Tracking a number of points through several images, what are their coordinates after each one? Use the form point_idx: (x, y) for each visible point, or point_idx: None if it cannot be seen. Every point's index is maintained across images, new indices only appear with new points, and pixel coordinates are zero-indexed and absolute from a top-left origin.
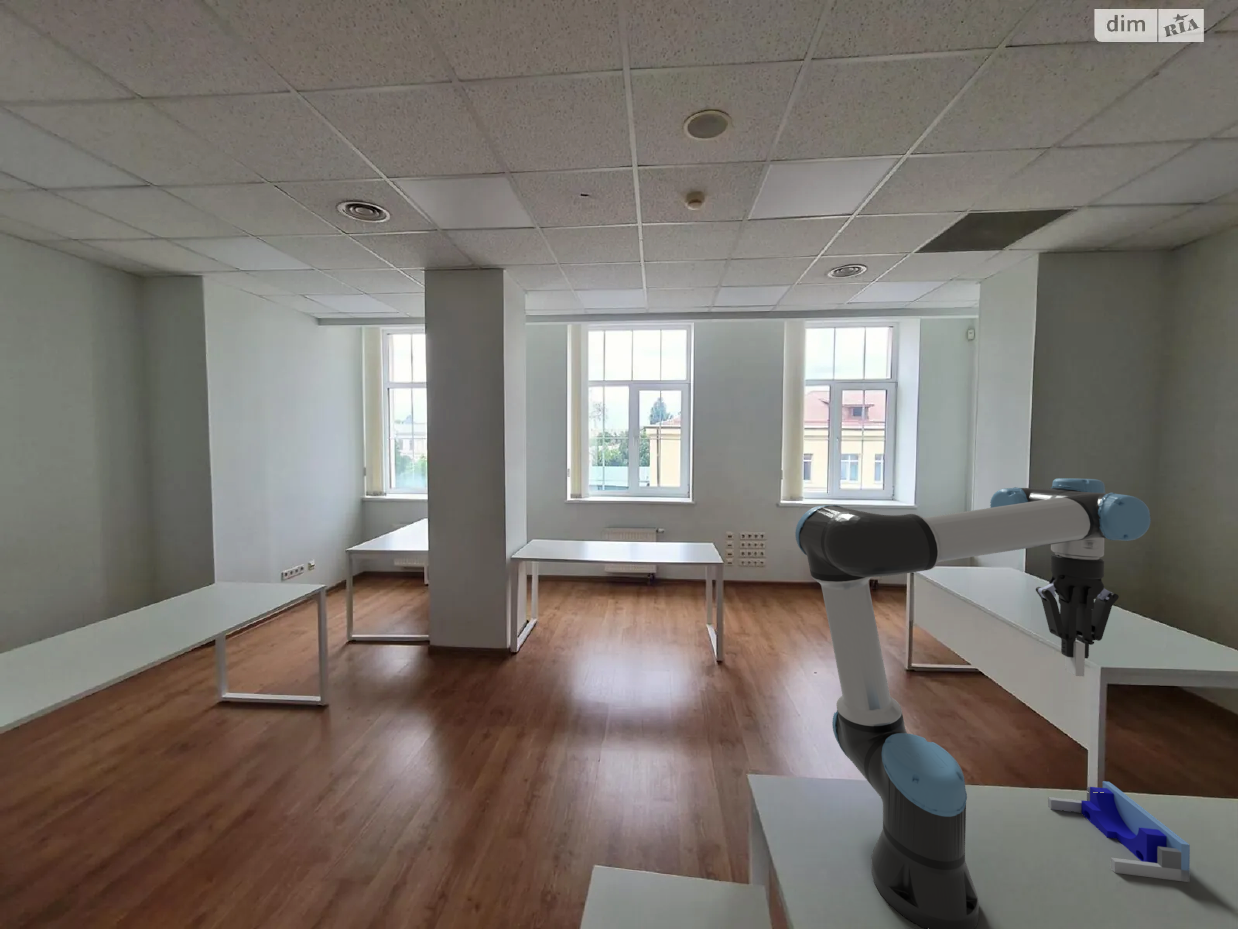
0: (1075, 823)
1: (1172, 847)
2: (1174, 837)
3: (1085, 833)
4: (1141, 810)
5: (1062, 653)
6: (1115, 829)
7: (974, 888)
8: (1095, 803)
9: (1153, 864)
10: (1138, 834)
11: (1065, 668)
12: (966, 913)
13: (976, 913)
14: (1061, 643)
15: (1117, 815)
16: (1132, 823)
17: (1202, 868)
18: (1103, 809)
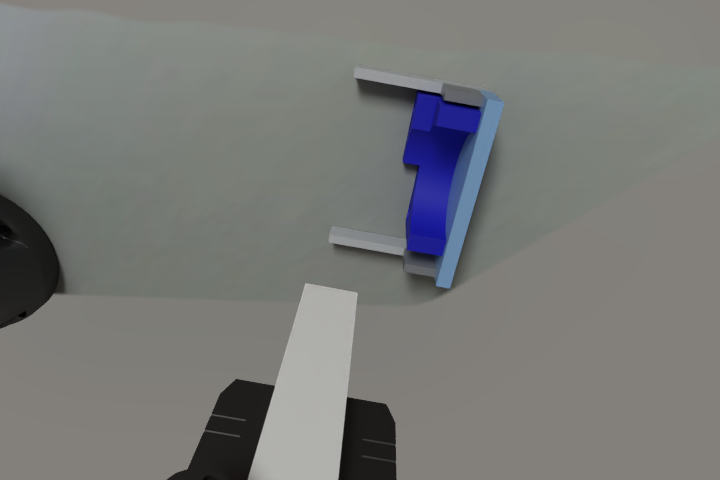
0: (373, 118)
1: (438, 259)
2: (442, 272)
3: (367, 146)
4: (464, 203)
5: (227, 392)
6: (424, 160)
7: (27, 304)
8: (434, 116)
9: (393, 250)
10: (410, 226)
11: (304, 291)
12: (10, 322)
13: (32, 313)
14: (192, 459)
15: (459, 139)
16: (458, 172)
17: (506, 228)
18: (437, 131)
